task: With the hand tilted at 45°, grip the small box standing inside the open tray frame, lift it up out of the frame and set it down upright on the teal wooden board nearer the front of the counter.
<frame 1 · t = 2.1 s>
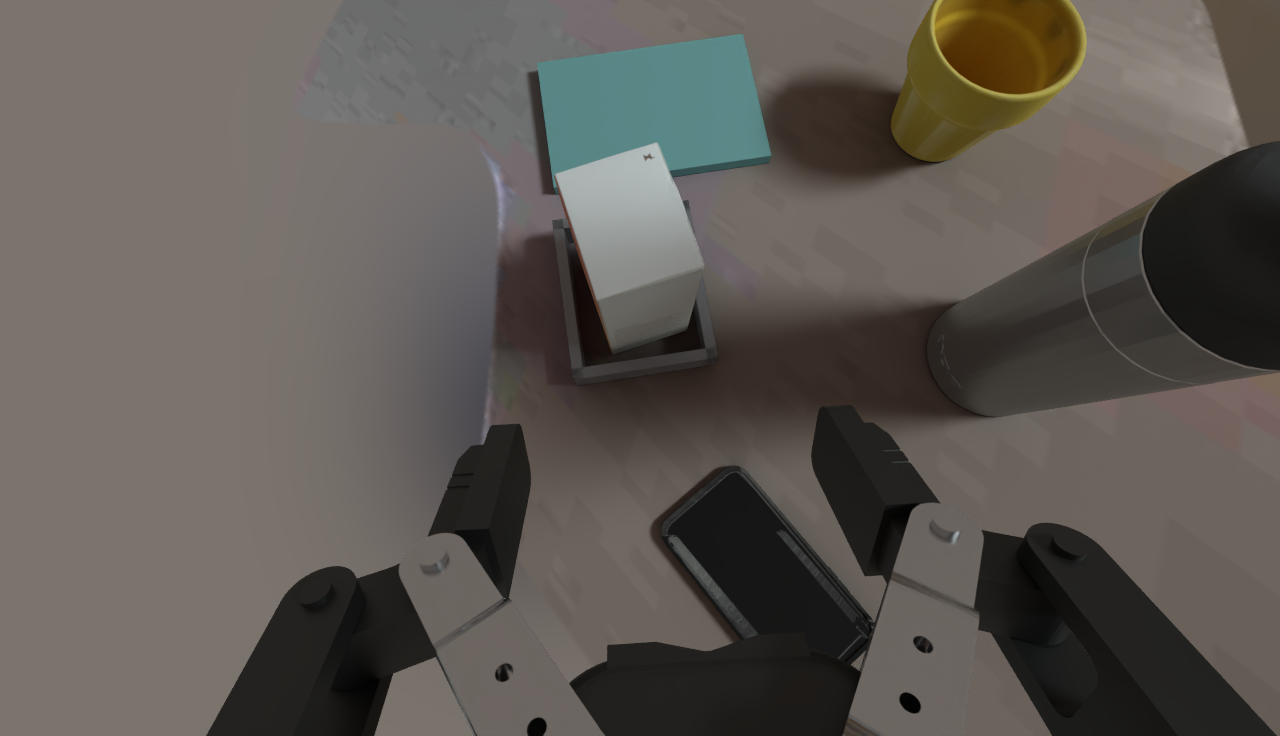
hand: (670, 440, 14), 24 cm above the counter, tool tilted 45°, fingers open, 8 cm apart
plant pot: (926, 130, 43), on the counter
tray frame: (633, 298, 40), on the counter
phone: (762, 575, 36), on the counter
board: (651, 116, 43), on the counter
small box: (633, 299, 40), resting in tray frame
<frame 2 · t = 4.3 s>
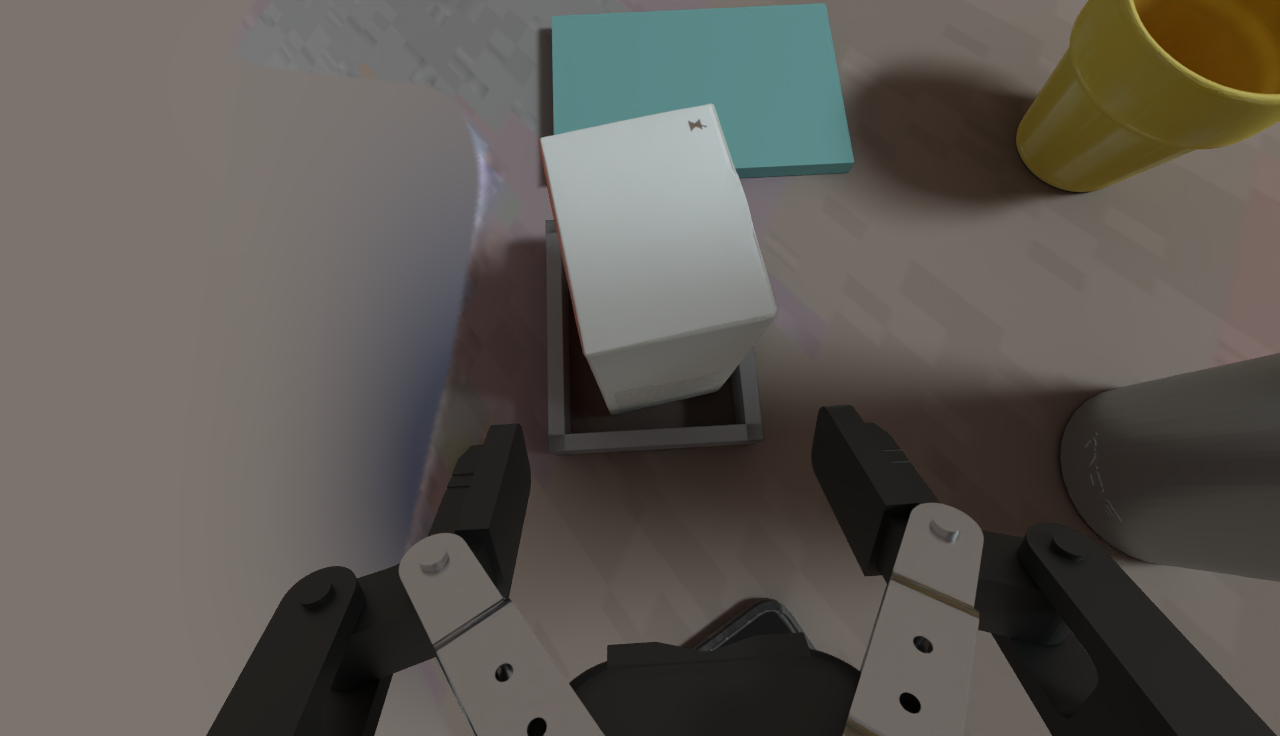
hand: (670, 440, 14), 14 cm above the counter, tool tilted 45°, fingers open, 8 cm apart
plant pot: (1063, 149, 32), on the counter
tray frame: (648, 338, 29), on the counter
board: (694, 98, 33), on the counter
small box: (647, 339, 29), resting in tray frame
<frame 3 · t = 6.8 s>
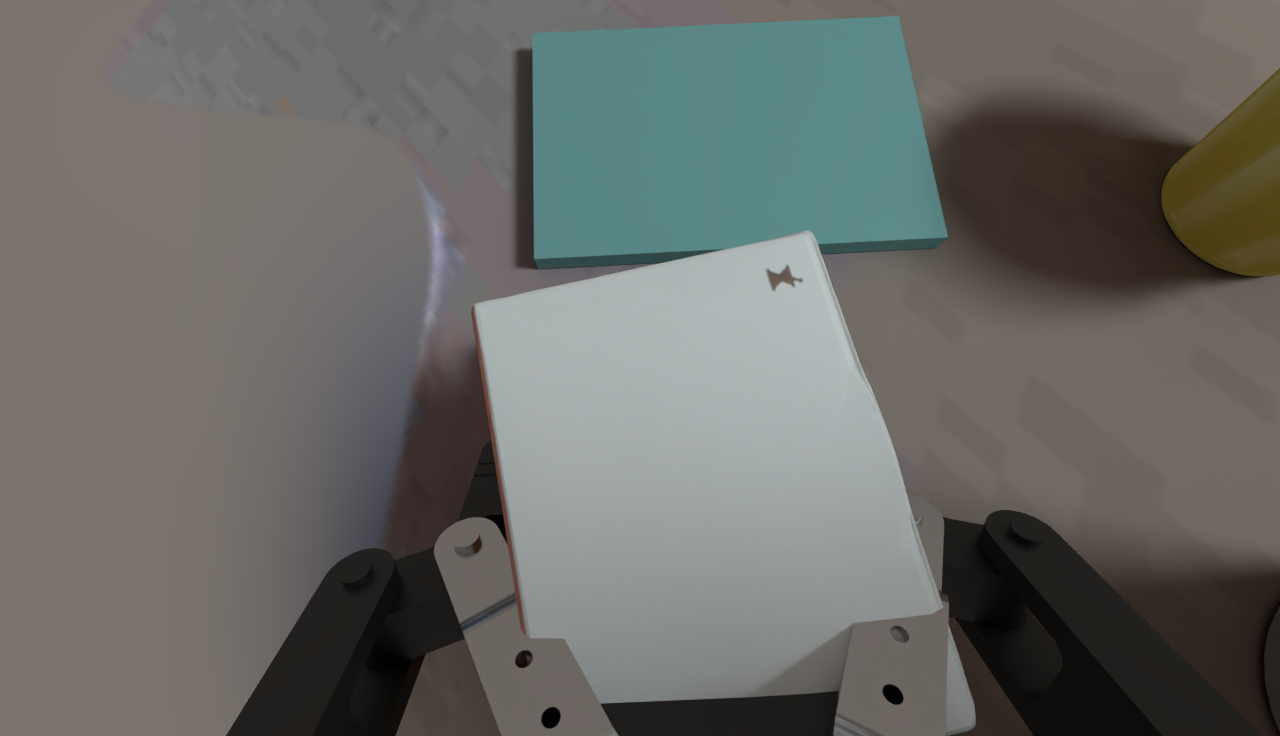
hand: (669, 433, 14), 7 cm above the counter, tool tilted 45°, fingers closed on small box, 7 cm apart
plant pot: (1225, 215, 24), on the counter
board: (724, 144, 24), on the counter
small box: (664, 491, 21), resting in tray frame, touching gripper
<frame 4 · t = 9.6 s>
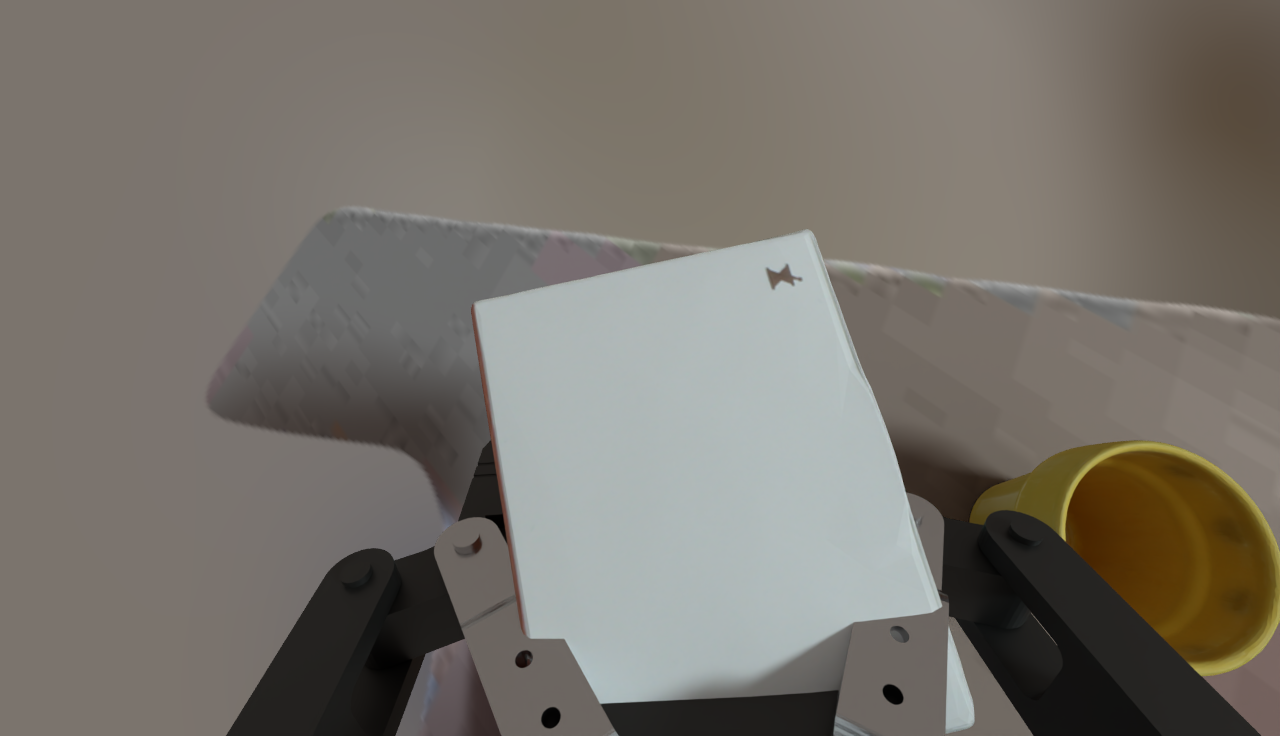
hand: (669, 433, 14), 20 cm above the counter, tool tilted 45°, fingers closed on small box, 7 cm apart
plant pot: (1014, 534, 33), on the counter
small box: (663, 490, 21), point 13 cm above the counter, touching gripper
when the fingers open (9 cm above the counter, at t = 12.4 s): small box drops 1 cm, resting on board.
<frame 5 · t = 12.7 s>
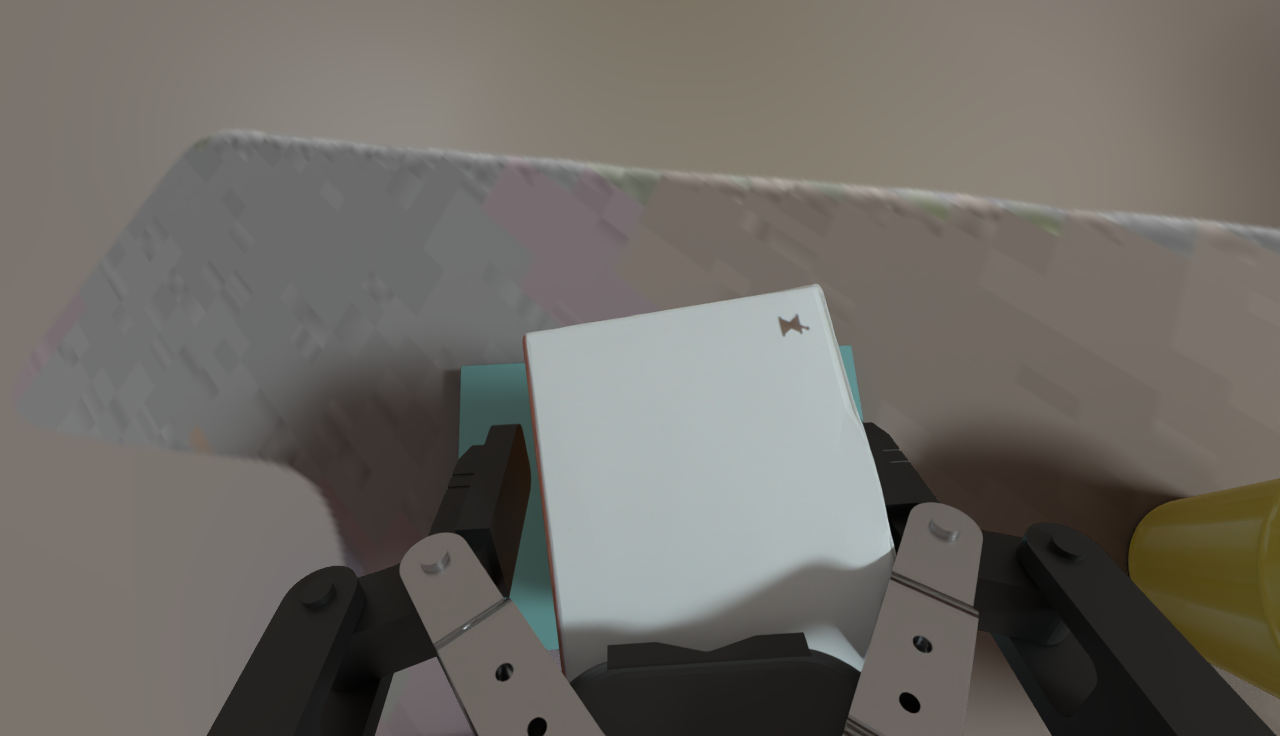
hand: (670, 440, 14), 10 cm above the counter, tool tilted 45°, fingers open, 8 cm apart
plant pot: (1196, 577, 22), on the counter
board: (664, 489, 23), on the counter
small box: (671, 497, 22), point 1 cm above the counter, touching board
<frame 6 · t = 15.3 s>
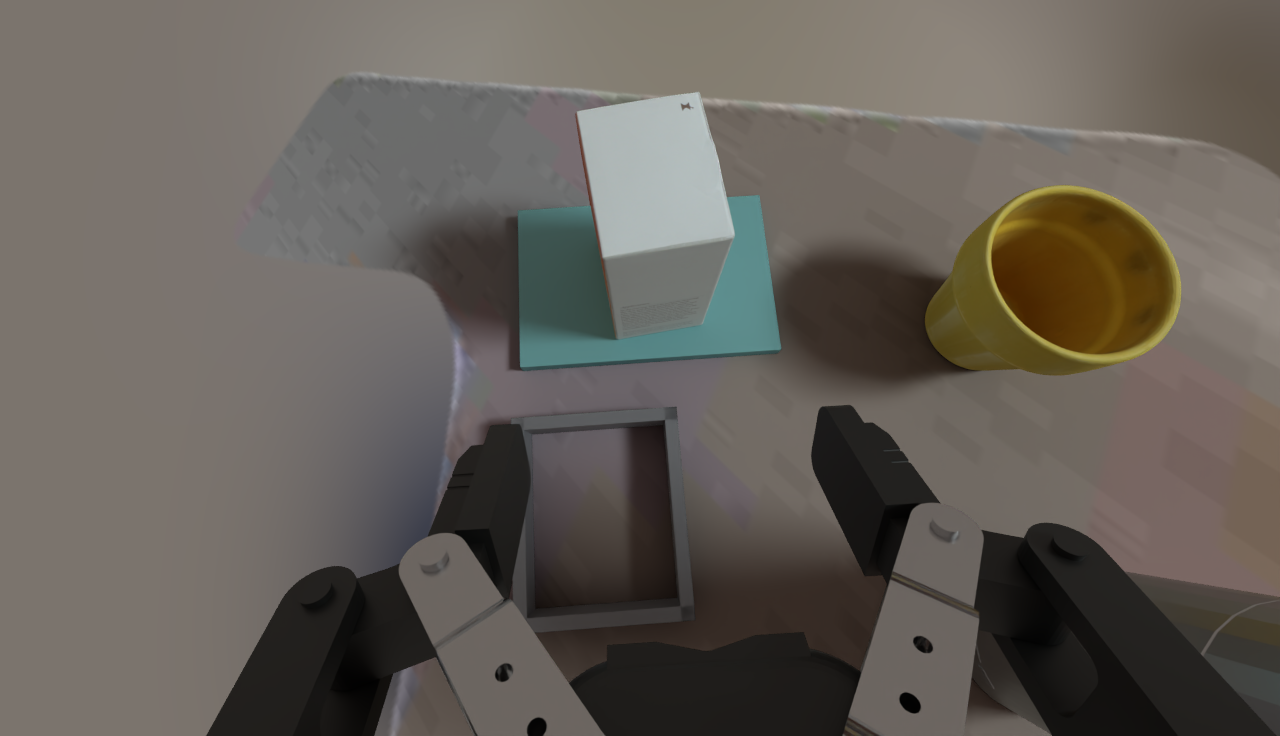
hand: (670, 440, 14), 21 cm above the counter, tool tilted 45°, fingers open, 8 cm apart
plant pot: (966, 327, 37), on the counter
tray frame: (601, 513, 33), on the counter
board: (644, 283, 37), on the counter
small box: (648, 283, 36), point 1 cm above the counter, touching board
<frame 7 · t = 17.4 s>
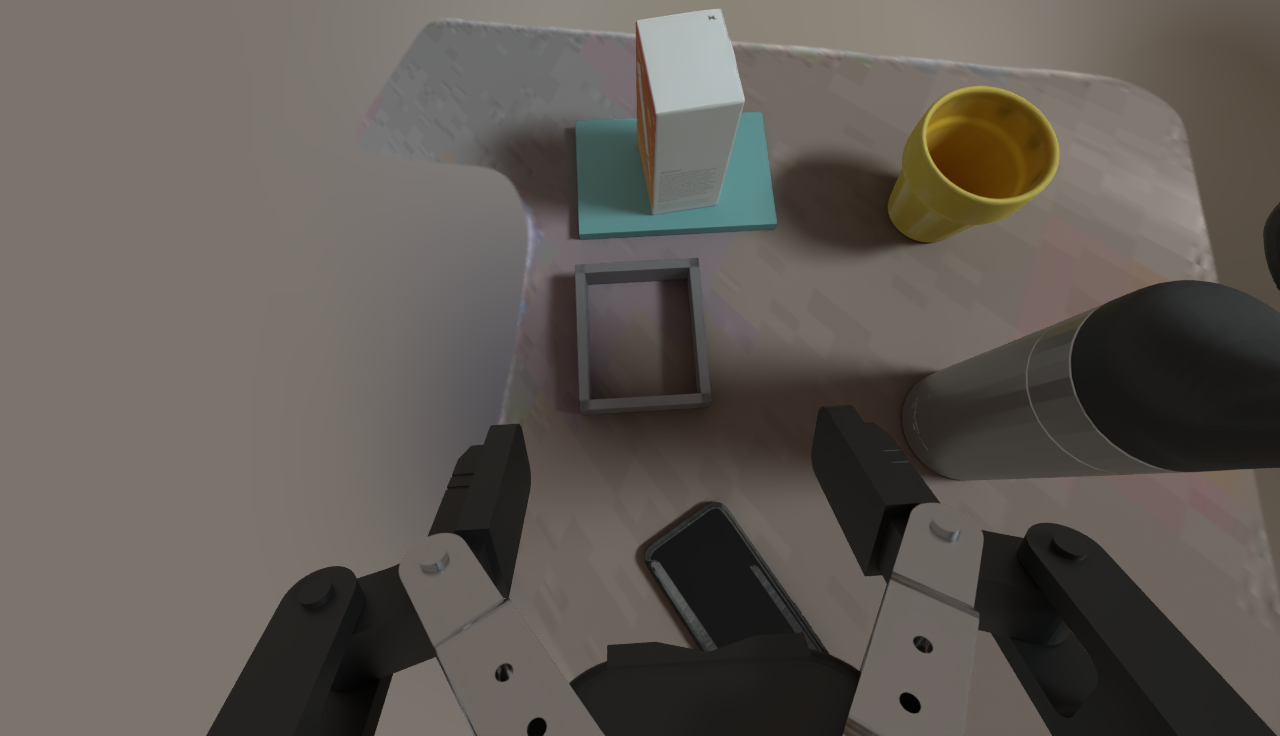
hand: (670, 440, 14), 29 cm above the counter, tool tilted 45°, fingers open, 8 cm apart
plant pot: (920, 212, 48), on the counter
tray frame: (641, 340, 44), on the counter
phone: (734, 605, 40), on the counter
board: (672, 177, 48), on the counter
small box: (676, 175, 47), point 1 cm above the counter, touching board
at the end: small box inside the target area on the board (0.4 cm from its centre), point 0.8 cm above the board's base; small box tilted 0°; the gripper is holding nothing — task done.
